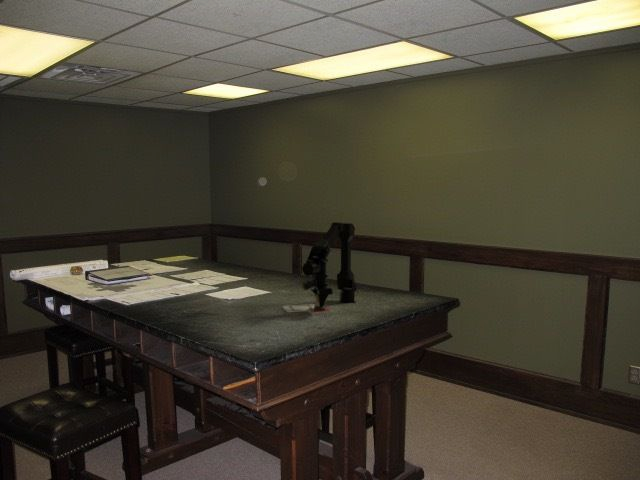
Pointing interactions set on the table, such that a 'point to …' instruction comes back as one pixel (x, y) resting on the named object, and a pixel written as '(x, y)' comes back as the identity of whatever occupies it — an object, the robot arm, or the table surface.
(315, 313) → the ink pad
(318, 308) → the stamp
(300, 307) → the paper
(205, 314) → the table surface
